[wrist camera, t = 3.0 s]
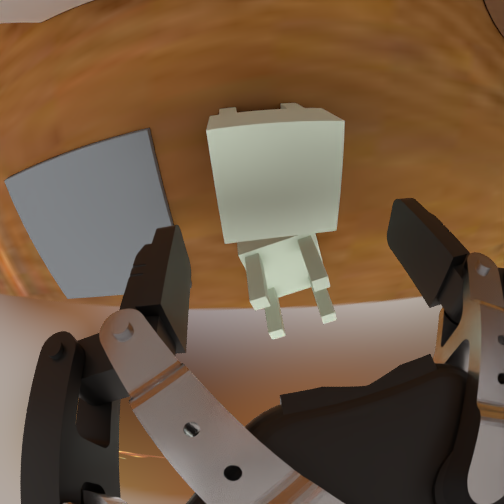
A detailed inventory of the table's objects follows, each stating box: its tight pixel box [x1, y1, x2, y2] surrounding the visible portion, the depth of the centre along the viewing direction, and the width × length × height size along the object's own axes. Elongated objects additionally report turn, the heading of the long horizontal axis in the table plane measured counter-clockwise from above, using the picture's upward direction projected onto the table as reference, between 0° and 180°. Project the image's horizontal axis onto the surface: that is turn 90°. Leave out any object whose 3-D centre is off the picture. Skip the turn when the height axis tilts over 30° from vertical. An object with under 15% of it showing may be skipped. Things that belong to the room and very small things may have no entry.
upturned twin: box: [237, 233, 337, 339], centre depth 20 cm, size 6×6×7 cm
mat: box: [5, 128, 192, 299], centre depth 19 cm, size 14×14×1 cm
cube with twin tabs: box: [206, 103, 345, 244], centre depth 14 cm, size 6×6×7 cm
